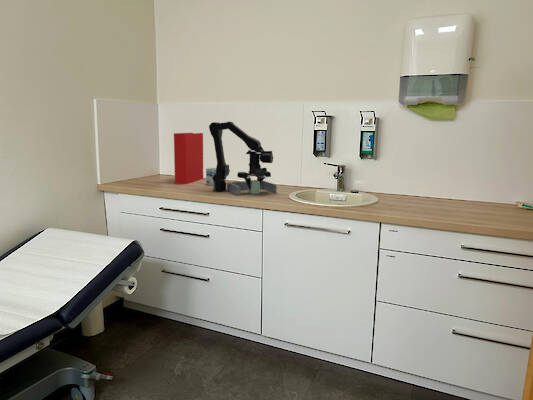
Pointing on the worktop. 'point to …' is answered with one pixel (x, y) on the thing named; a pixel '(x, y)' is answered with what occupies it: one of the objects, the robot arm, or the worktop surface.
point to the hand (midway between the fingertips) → (254, 189)
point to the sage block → (254, 187)
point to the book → (188, 157)
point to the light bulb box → (210, 176)
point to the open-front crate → (237, 186)
